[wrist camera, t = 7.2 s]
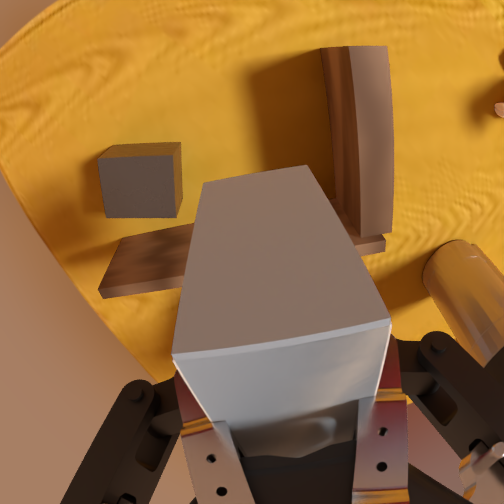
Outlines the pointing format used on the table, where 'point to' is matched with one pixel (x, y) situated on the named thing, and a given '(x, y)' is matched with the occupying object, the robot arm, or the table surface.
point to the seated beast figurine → (499, 109)
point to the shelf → (345, 169)
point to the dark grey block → (141, 180)
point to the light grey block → (278, 315)
